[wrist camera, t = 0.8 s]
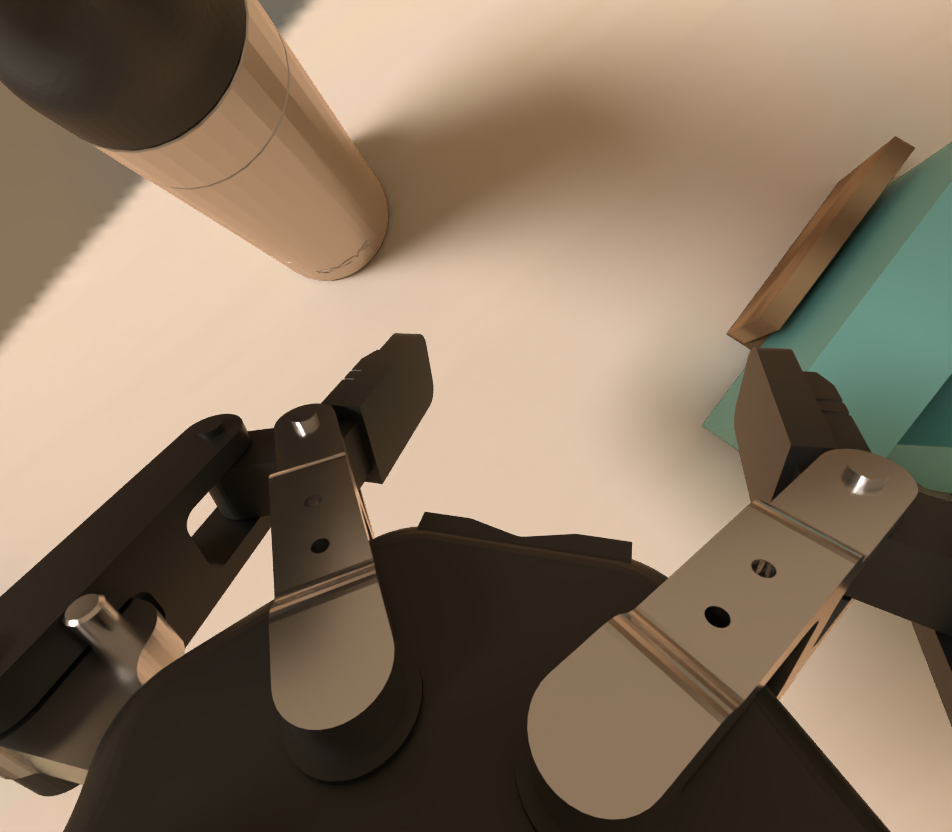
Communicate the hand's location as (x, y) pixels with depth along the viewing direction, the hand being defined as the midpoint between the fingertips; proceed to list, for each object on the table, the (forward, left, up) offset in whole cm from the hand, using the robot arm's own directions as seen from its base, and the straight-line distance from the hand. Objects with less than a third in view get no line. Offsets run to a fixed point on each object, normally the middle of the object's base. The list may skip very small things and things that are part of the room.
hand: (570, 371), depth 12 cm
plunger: (+4, +17, -21) cm, 28 cm away
